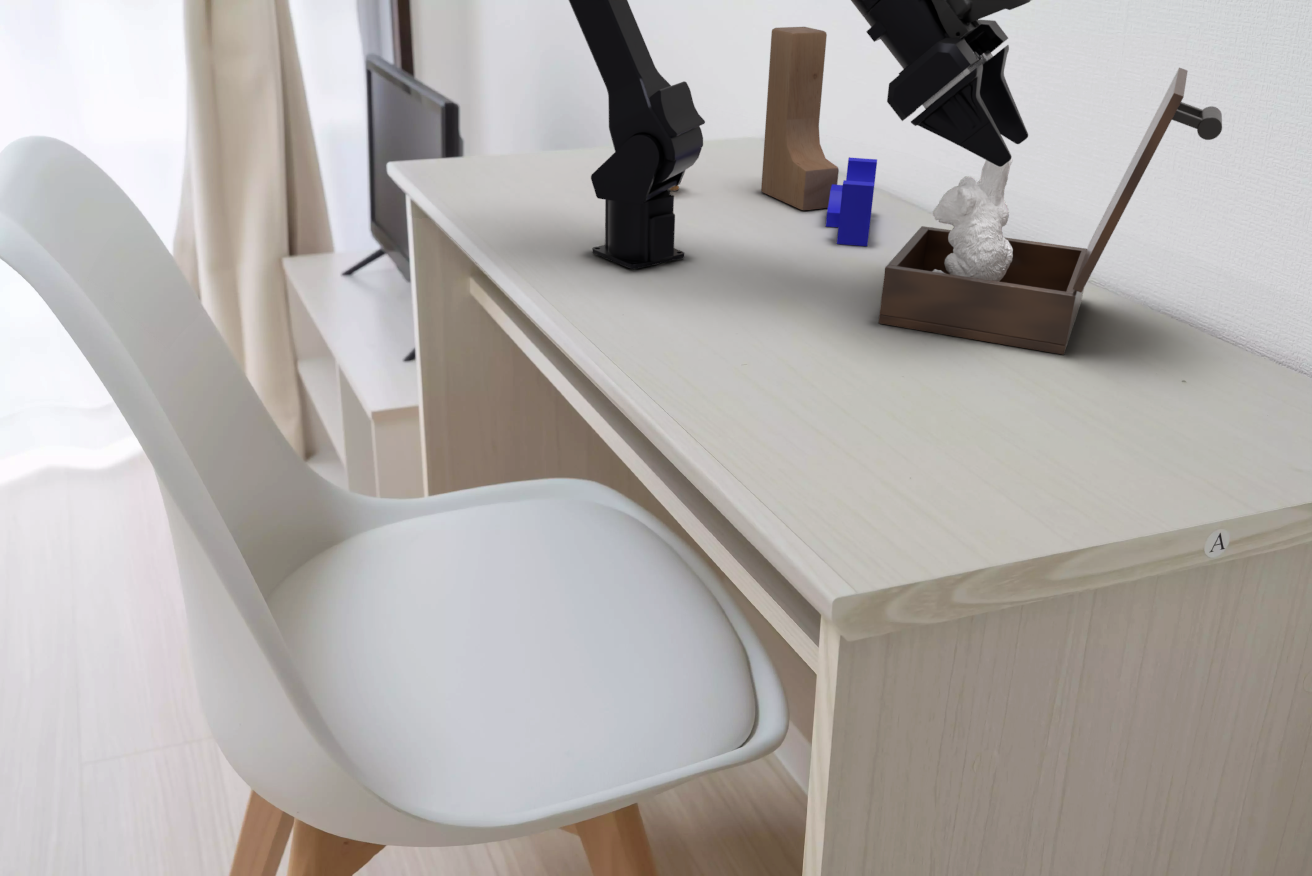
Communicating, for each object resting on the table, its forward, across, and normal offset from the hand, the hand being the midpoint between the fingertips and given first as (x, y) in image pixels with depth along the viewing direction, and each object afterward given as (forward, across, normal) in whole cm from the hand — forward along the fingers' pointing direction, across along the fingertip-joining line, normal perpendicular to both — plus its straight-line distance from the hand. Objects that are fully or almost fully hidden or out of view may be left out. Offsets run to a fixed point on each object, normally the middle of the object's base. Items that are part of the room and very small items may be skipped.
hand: (1015, 151), depth 89 cm
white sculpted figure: (+8, +1, +10) cm, 13 cm away
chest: (+9, 0, +10) cm, 14 cm away
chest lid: (+7, 0, -5) cm, 8 cm away
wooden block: (-8, +28, +28) cm, 40 cm away
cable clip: (-3, +20, +22) cm, 30 cm away
